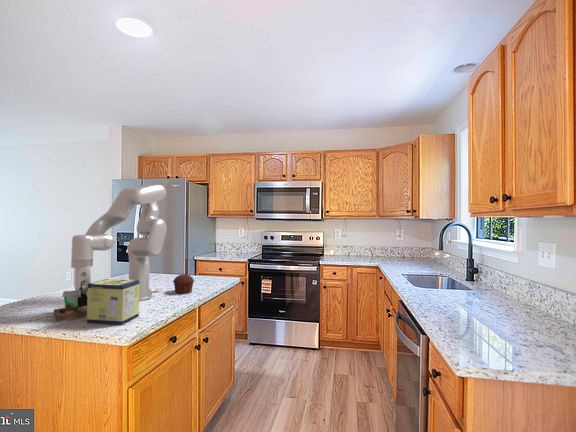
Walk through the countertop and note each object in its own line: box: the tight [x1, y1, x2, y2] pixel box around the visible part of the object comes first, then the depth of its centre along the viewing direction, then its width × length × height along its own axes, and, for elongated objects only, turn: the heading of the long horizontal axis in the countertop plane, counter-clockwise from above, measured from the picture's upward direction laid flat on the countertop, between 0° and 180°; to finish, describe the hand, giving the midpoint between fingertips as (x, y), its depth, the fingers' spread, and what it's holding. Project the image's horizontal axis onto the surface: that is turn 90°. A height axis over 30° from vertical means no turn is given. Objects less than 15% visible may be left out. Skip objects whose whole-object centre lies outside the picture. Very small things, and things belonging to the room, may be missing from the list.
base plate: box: [53, 307, 87, 323], centre depth 121 cm, size 17×11×2 cm, turn 133°
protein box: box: [86, 278, 140, 326], centre depth 116 cm, size 10×16×16 cm
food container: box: [62, 289, 88, 313], centre depth 121 cm, size 12×6×10 cm, turn 164°
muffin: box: [172, 273, 195, 295], centre depth 162 cm, size 12×11×10 cm
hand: (80, 303), depth 121 cm, fingers open, 9 cm apart
